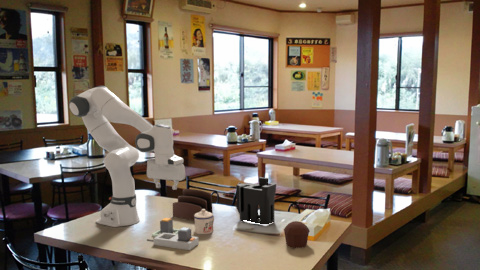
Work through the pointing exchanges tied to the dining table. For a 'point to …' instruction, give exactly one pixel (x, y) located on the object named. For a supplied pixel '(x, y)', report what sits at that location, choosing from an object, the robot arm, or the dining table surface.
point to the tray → (159, 232)
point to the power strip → (174, 241)
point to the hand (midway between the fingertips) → (166, 188)
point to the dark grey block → (184, 234)
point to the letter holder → (192, 203)
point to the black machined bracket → (256, 201)
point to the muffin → (296, 234)
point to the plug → (166, 225)
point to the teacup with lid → (204, 222)
